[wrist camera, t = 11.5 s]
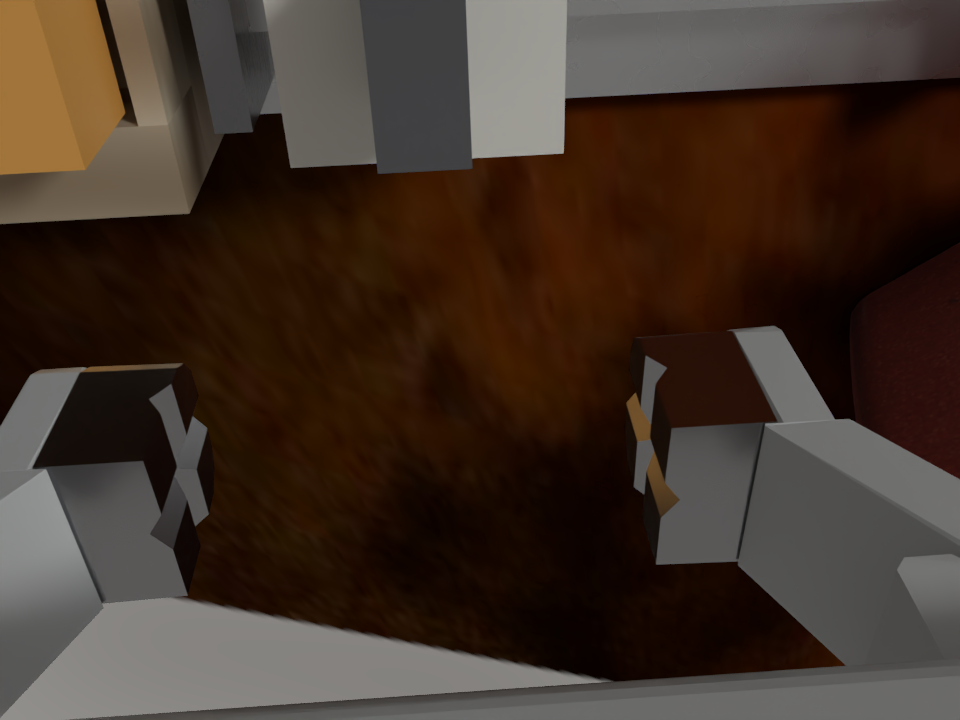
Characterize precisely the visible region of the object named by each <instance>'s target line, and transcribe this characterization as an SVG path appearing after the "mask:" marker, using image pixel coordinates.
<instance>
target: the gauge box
mask: <svg viewBox="0 0 960 720" xmlns="http://www.w3.org/2000/svg"><path fill="white" fill-rule="evenodd" d="M95 1H96V4H97V8H98V12H99V16H100V19H101V23H102V27H103V31H104V34H105V38H106V42H107V46H108V49H109V53H110V57H111V61H112V64H113V68H114V72H115V76H116V79H117V83H118V87H119V91H120V94H121V98H122V102H123V106H124V109H125V114H124V116H123V117H122V119H121V120H120V121H119V123H118V124H117V126H116V127H115V128H114V130H113V131H112V133H111V134H110V136H109V137H108V138H107V140H106V141H105V143H104V144H103V146H102V147H101V148H100V150H99V151H98V153H97V154H96V156H95V157H94V158H93V160H92V161H91V163H90V164H89V166H88V167H87V168H86V170H77V171H58V172H39V173H20V174H2V175H0V224H9V223H27V222H45V221H63V220H93V219H100V218H118V217H136V216H154V215H172V214H189V213H190V211H191V209H192V206H193V204H194V202H195V200H196V197H197V195H198V193H199V190H200V188H201V186H202V184H203V181H204V179H205V177H206V175H207V172H208V170H209V168H210V165H211V163H212V161H213V159H214V156H215V154H216V152H217V149H218V147H219V145H220V143H221V140H222V138H223V136H224V134H215V132H214V127H213V123H212V118H211V113H210V108H209V104H208V99H207V94H206V90H205V85H204V80H203V75H202V71H201V66H200V61H199V56H198V52H197V47H196V42H195V37H194V33H193V28H192V23H191V18H190V14H189V9H188V4H187V0H95Z"/></svg>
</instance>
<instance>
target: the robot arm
mask: <svg viewBox="0 0 960 720" xmlns="http://www.w3.org/2000/svg"><path fill="white" fill-rule="evenodd" d="M629 372H630V375H631V378H632V381H633V385H634V388H635V391H636V393H635V394H634V395H633V396H632V397H631V398H630V399H629V401H628V402H627V403H626V421H625V434H626V453H627V459H628V464H629V470H630V474H631V478H632V482H633V485H634V487H635V488H636V489H637V490H639V491H640V492H641V493H643V494H644V504H643V515H642V518H643V522H644V525H645V528H646V532H647V535H648V539H649V542H650V546H651V549H652V553H653V556H654V560H655V563H656V565H660V564H685V563H710V562H735V561H738V566H739V567H740V568H741V569H742V570H744V571H745V572H746V573H747V574H748V575H749V576H750V577H751V578H752V579H753V580H754V581H755V582H756V583H758V584H759V585H760V586H761V587H762V588H763V589H764V590H765V591H766V592H767V593H768V594H769V595H771V596H772V597H773V598H774V599H775V600H776V601H777V602H778V603H779V604H780V605H781V606H782V607H783V608H785V609H786V610H787V611H788V612H789V613H790V614H791V615H792V616H793V617H794V618H795V619H796V620H798V621H799V622H800V623H801V624H802V625H803V626H804V627H805V628H806V629H807V630H808V631H809V632H810V633H812V634H813V635H814V636H815V637H816V638H817V639H818V640H819V641H820V642H821V643H822V644H823V645H824V646H826V647H827V648H828V649H829V650H830V651H831V652H832V653H833V654H834V655H835V656H836V657H837V658H839V659H840V660H841V661H842V662H843V663H844V664H845V665H846V666H838V667H824V668H809V669H794V670H780V671H765V672H750V673H736V674H721V675H706V676H691V677H677V678H662V679H647V680H632V681H618V682H603V683H589V684H574V685H560V686H545V687H529V688H515V689H502V690H487V691H474V692H458V693H445V694H431V695H430V694H429V695H415V696H401V697H387V698H374V699H358V700H344V701H331V702H330V701H329V702H315V703H301V704H287V705H273V706H258V707H244V708H231V709H216V710H201V711H187V712H172V713H158V714H143V715H130V716H115V717H100V718H86V719H73V720H960V479H958V478H956V477H954V476H953V475H951V474H949V473H947V472H945V471H944V470H942V469H940V468H938V467H936V466H934V465H933V464H931V463H929V462H927V461H925V460H923V459H922V458H920V457H918V456H916V455H914V454H913V453H911V452H909V451H907V450H905V449H903V448H902V447H900V446H898V445H896V444H894V443H892V442H891V441H889V440H887V439H885V438H883V437H882V436H880V435H878V434H876V433H874V432H872V431H871V430H869V429H867V428H865V427H863V426H861V425H860V424H858V423H856V422H854V421H852V420H851V419H837V420H835V419H834V417H833V415H832V414H831V412H830V410H829V409H828V407H827V405H826V404H825V402H824V400H823V399H822V397H821V395H820V394H819V392H818V390H817V388H816V387H815V385H814V383H813V382H812V380H811V378H810V377H809V375H808V373H807V372H806V370H805V368H804V367H803V365H802V363H801V362H800V360H799V358H798V357H797V355H796V353H795V352H794V350H793V348H792V347H791V345H790V343H789V342H788V340H787V338H786V337H785V335H784V333H783V332H782V330H781V329H779V328H777V327H775V326H765V327H754V328H743V329H732V330H727V331H720V332H707V333H693V334H679V335H666V336H652V337H639V338H634V339H633V343H632V347H631V352H630V363H629ZM198 396H199V395H198V392H197V389H196V385H195V382H194V379H193V376H192V372H191V370H190V369H189V368H188V367H187V366H186V365H185V364H184V363H181V364H155V365H129V366H103V367H89V368H84V367H78V368H62V369H46V370H40V371H38V372H35V373H33V374H31V375H30V376H29V378H28V379H27V381H26V383H25V384H24V386H23V388H22V390H21V391H20V393H19V395H18V397H17V398H16V400H15V402H14V403H13V405H12V407H11V409H10V410H9V412H8V414H7V415H6V417H5V419H4V421H3V422H2V424H1V426H0V717H1V716H2V715H3V714H4V713H5V712H6V711H7V710H8V709H9V708H10V707H11V706H12V705H13V704H14V703H15V701H16V700H17V699H18V698H19V697H20V696H21V695H22V694H23V693H24V692H25V691H26V690H27V688H29V687H30V685H31V684H32V683H33V682H34V681H35V680H36V679H37V678H38V677H39V676H40V675H41V674H42V673H43V672H44V671H45V669H46V668H47V667H48V666H49V665H50V664H51V663H52V662H53V661H54V660H55V659H56V658H57V657H58V656H59V654H60V653H61V652H62V651H63V650H64V649H65V648H66V647H67V646H68V645H69V644H70V643H71V642H72V641H73V640H74V639H75V638H76V637H77V635H78V634H79V633H80V632H81V631H82V630H83V629H84V628H85V627H86V626H87V625H88V624H89V623H90V622H91V621H92V619H93V618H94V617H95V616H96V615H97V614H98V613H99V612H100V611H101V610H102V609H103V605H102V603H112V602H123V601H134V600H145V599H155V598H166V597H177V596H188V593H189V589H190V585H191V581H192V577H193V574H194V570H195V566H196V562H197V558H198V555H199V551H200V547H201V545H200V541H199V538H198V535H197V531H196V528H195V526H196V525H197V524H198V523H199V522H200V521H202V520H203V519H204V518H205V517H206V516H207V515H208V514H209V511H210V507H211V503H212V498H213V494H214V472H215V466H214V458H213V450H212V444H211V440H210V436H209V432H208V429H207V428H206V427H205V426H204V425H202V424H201V423H200V422H199V421H198V420H196V419H195V418H194V417H193V413H194V410H195V406H196V403H197V400H198Z"/></svg>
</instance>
